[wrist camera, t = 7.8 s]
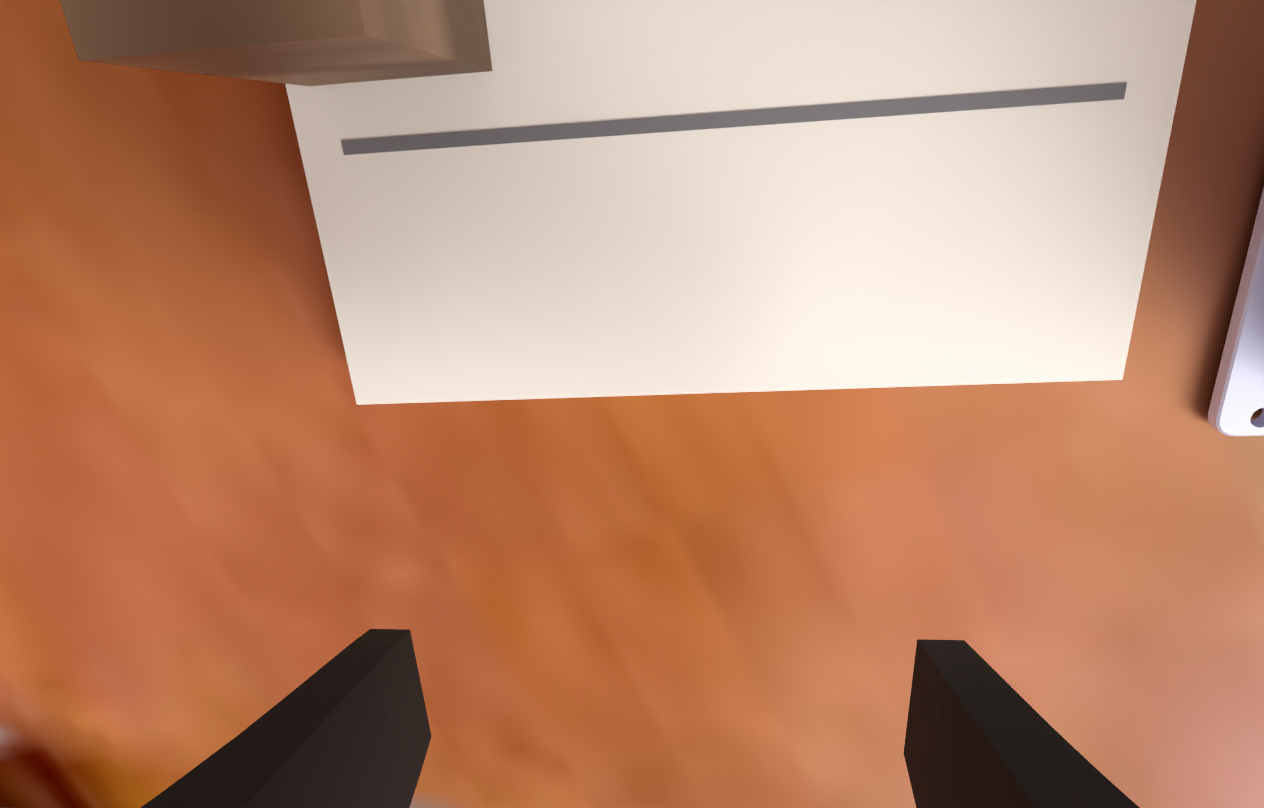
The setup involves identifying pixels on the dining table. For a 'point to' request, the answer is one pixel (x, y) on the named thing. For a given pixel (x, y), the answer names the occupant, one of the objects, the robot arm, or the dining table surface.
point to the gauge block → (285, 37)
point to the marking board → (749, 197)
